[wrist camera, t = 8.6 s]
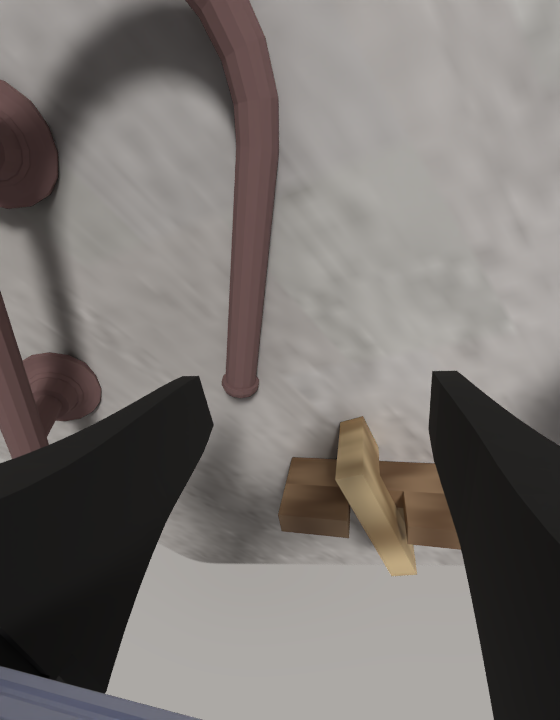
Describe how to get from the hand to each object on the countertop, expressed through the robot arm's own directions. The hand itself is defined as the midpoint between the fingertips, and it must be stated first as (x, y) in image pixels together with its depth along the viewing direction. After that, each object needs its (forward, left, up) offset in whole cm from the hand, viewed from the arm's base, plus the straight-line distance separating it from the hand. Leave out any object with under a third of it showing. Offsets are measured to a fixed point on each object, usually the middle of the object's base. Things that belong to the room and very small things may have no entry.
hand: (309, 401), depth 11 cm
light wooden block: (-2, +13, -10) cm, 16 cm away
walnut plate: (-2, +13, -10) cm, 16 cm away
